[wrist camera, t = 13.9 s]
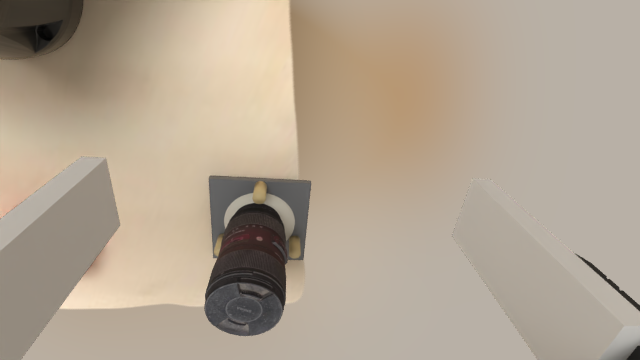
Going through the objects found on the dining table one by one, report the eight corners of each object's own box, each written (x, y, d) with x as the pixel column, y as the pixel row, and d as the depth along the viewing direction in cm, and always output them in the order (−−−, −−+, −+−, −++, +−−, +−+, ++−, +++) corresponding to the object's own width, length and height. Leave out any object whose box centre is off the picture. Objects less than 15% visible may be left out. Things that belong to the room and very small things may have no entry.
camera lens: (234, 190, 44) (211, 273, 30) (294, 206, 45) (296, 291, 32) (220, 238, 47) (194, 331, 34) (276, 251, 49) (272, 344, 36)
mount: (214, 254, 49) (209, 272, 46) (210, 175, 43) (203, 190, 40) (302, 256, 51) (304, 274, 48) (310, 180, 45) (312, 195, 42)
